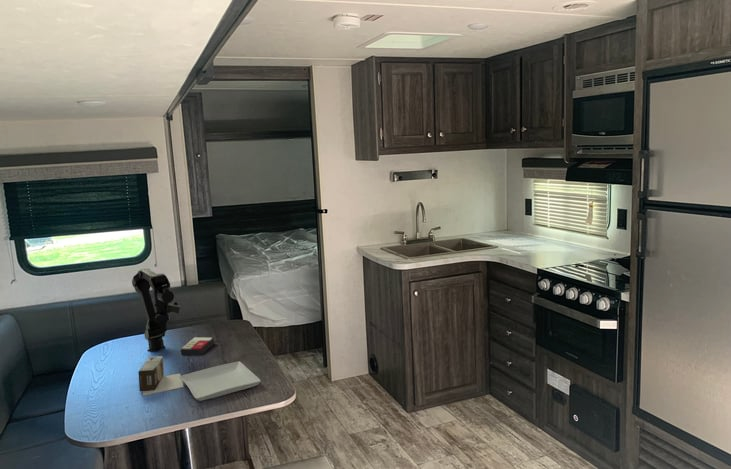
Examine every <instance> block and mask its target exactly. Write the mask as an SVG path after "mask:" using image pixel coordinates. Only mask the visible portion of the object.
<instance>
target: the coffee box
mask: <svg viewBox="0 0 731 469" xmlns="http://www.w3.org/2000/svg"><path fill="white" fill-rule="evenodd" d="M137 373H138V388H139V389H138V390H139V392H143V391H150V390H155V389H156V387H157V386H158V384H159V382H160V381H161V379H162V377H164V376H165V369H164V356H161V355H160V356H149V357H148V358H147V359H146V361H145V362H144V363H143V364H142V365H141V368H139V370H138V372H137Z"/></svg>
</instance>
